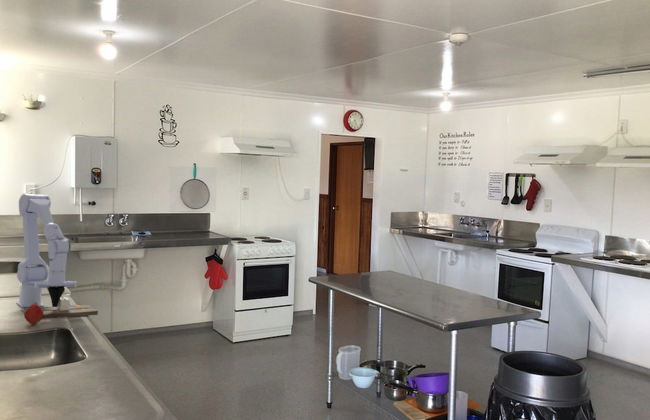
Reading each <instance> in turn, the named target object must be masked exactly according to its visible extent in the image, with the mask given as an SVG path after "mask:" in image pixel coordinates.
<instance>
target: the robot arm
mask: <svg viewBox="0 0 650 420" xmlns="http://www.w3.org/2000/svg"><path fill="white" fill-rule="evenodd" d="M51 203H52V202H51V198H50V196H49V195H48V194H32V193H22V194H21V195H20V197H19V200H18V210H19V211H18V212H19V216H20V217H22V227H23V228H22V230H23V243H24V244H23V245H24V247H23V248H24V256H25V257H24V259H23V260H22V261H20V262H19V264H17V265H18V266H17V272H16V278H17V281H18V282H19V283H20V287H19V288H20V289H19V299H18V301H16V304H17V305H18V306H20V307H21V308H28V307H30V306H31V305H32V304H34V303H35V302H37V305H38V306H40V307H45V305H44V303H42V291H43V289H45V288H46V289H47V291H48V294H49V297H50V300H51V307H57V305H58V302H59V300H60V297H62V296H63V294H64V293H65V290H66V288H72V287H74V288H77V287H78V281H76V280H74V281H73V280H66V272H67V270H66V269H67V258H68V254H69V253H70V252H71V249H72V244H71V241H70V239H69V238H67V237H66V236H64V234H63V232H62V229H61V228H60V226H59V224H57V223H54V219H53V216H52V213H51V210H50V208H51ZM38 219H39V220H40V221H41V223H42V224H43V226H44V227H43V228H42V231H43V234H44V236H45V239H46V241H47V247H46V248H47V252H48V259H49V264H48V265H49V266H47V262H46V261H45V260H43V258H41V257H40V247H39V246H40V244H39V243H40V242H39V231H38V229H39V228H38ZM47 267H48V268H47Z"/></svg>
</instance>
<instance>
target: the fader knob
mask: <svg viewBox="0 0 650 420" xmlns="http://www.w3.org/2000/svg"><path fill="white" fill-rule="evenodd" d="M69 306H70V298H68V297H66V296H64V297H63V296H61V297H60V300H59V302H58V305H57V309H59V310H60V311H64V310H69Z"/></svg>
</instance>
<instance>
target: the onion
mask: <svg viewBox="0 0 650 420" xmlns="http://www.w3.org/2000/svg"><path fill="white" fill-rule="evenodd" d="M41 307H42V306H38V305H37V302H35V303H34V304H32V305H31V306H30V307H27V308H26V310H25V312H24V314H23V315H24V319H25V321H26V322H27V323H29V324H30V325H32V326H35V325H37V324H38V323H39V322H40V321H42V320H43V319H42V318H43V315H44V314H43V310H42V309H41Z"/></svg>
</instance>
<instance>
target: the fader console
mask: <svg viewBox="0 0 650 420" xmlns="http://www.w3.org/2000/svg"><path fill="white" fill-rule="evenodd" d="M40 307H41V309H42V310H43V314H44V315H43V318H42V319H41V320H44V319H57V318H58V317H60V318H70V317H71V318H72V317H85V316H87V317H88V316H97V315H99V310H97V309H96V308H94V306H91V305H89V304H75V305H74V304H73V305H69V310H64V311H60V310H59V309H57V307H53V306H40ZM58 319H59V318H58Z"/></svg>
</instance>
